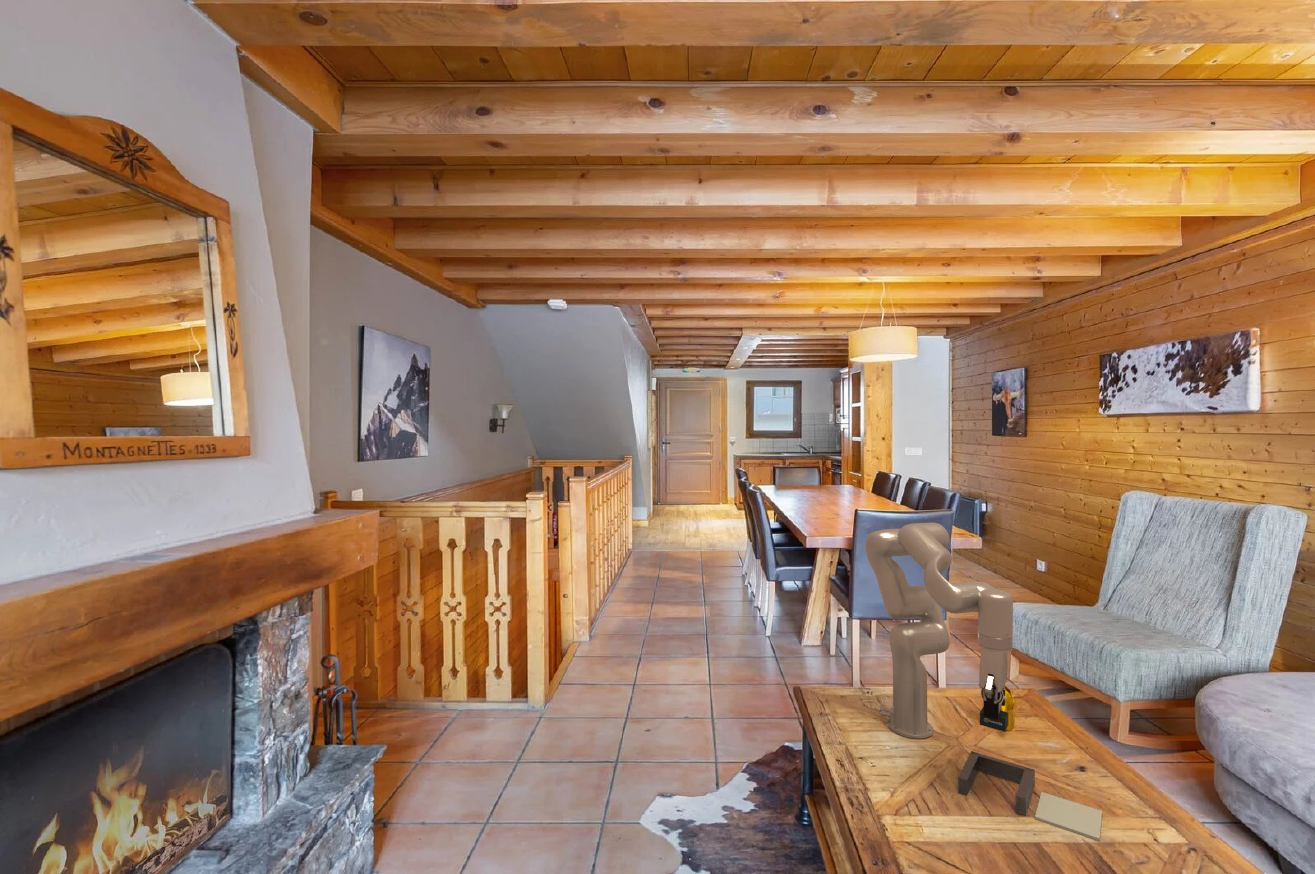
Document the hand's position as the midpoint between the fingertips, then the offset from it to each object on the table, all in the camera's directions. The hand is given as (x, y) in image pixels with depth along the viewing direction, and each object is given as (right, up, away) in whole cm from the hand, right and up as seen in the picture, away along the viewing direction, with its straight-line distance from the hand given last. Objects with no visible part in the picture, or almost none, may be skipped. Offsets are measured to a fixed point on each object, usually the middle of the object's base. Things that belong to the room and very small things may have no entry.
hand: (994, 710), depth 149 cm
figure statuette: (+21, -20, +33) cm, 44 cm away
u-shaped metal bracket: (+1, -20, +1) cm, 20 cm away
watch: (0, -4, 0) cm, 4 cm away
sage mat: (+12, -20, -9) cm, 25 cm away
